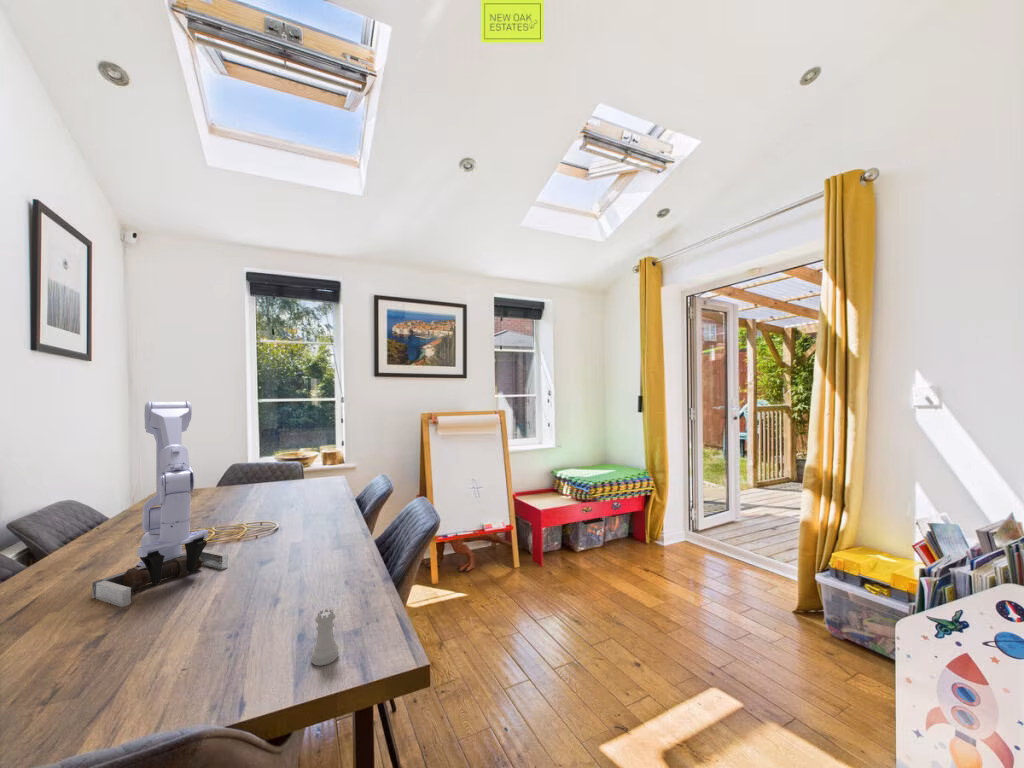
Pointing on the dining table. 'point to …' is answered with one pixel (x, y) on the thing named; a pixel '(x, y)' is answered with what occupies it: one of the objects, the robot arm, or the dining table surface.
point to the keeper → (120, 594)
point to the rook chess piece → (324, 640)
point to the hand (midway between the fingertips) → (174, 576)
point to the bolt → (177, 569)
